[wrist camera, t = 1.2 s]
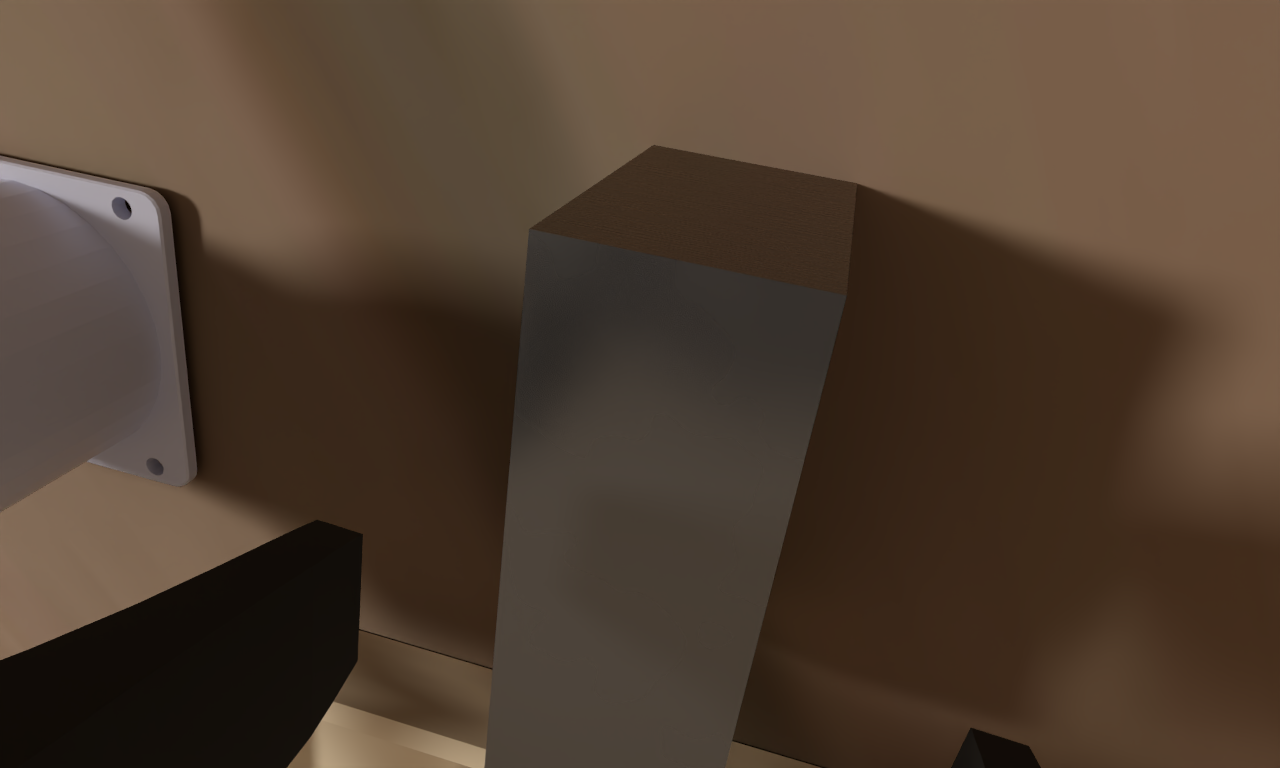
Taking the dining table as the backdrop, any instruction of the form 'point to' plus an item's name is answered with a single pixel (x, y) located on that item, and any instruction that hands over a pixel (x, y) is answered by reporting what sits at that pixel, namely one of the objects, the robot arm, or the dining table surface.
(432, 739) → the compartment tray
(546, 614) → the grey rectangular block
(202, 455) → the dining table surface
